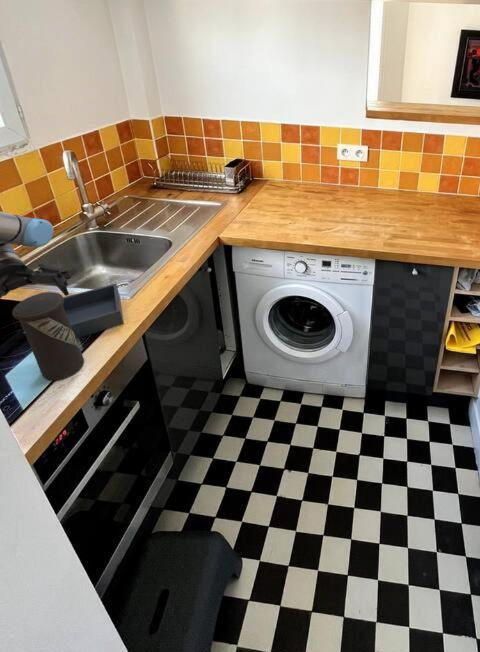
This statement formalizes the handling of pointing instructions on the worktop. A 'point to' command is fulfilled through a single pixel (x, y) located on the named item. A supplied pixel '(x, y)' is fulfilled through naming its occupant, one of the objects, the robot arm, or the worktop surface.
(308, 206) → the worktop surface
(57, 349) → the container
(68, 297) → the tote
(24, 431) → the worktop surface
